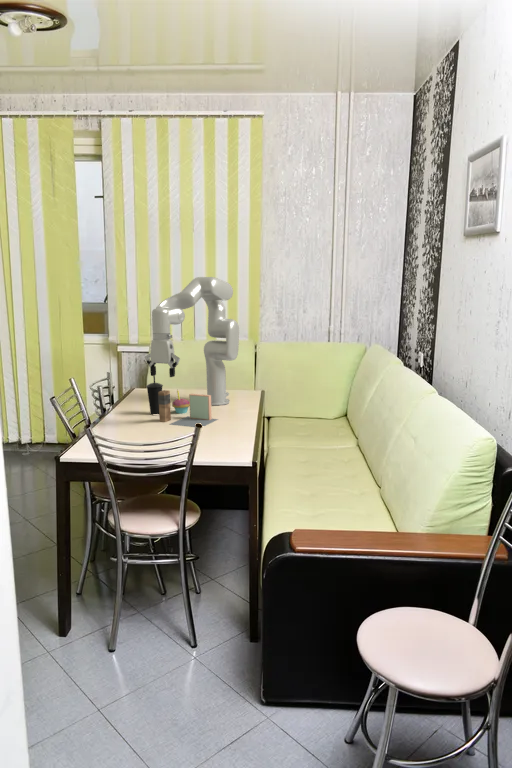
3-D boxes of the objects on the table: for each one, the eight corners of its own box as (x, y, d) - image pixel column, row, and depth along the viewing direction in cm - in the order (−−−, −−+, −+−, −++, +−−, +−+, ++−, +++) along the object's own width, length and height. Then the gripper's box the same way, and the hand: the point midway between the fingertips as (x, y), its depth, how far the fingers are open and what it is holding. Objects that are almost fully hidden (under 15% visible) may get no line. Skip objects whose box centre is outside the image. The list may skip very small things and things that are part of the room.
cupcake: (181, 416, 287) (180, 390, 284) (168, 414, 292) (167, 389, 289) (194, 412, 293) (193, 387, 291) (181, 410, 298) (180, 386, 296)
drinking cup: (161, 411, 297) (160, 370, 294) (165, 414, 290) (164, 372, 287) (146, 412, 295) (144, 371, 291) (149, 416, 288) (147, 373, 284)
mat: (187, 417, 284) (187, 416, 284) (218, 420, 278) (218, 419, 277) (168, 425, 270) (168, 424, 270) (200, 429, 263) (200, 427, 263)
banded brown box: (165, 420, 279) (163, 390, 277) (171, 421, 278) (169, 390, 275) (159, 423, 275) (158, 392, 272) (165, 423, 274) (164, 392, 271)
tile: (192, 417, 282) (191, 393, 280) (211, 419, 278) (210, 395, 276) (189, 418, 280) (188, 394, 278) (209, 420, 276) (208, 396, 274)
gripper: (183, 337, 269) (184, 376, 272) (149, 335, 276) (151, 373, 279) (173, 338, 262) (175, 378, 265) (139, 337, 269) (141, 376, 272)
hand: (162, 376), depth 272 cm, fingers open, 9 cm apart
